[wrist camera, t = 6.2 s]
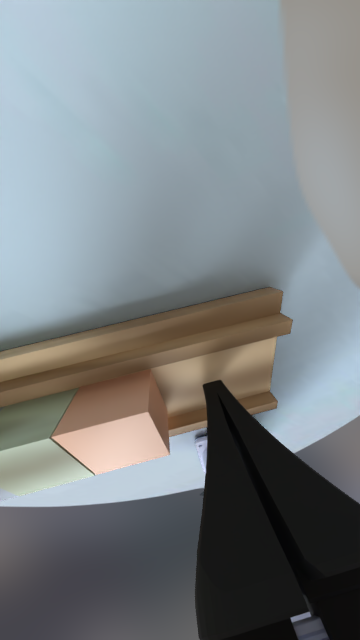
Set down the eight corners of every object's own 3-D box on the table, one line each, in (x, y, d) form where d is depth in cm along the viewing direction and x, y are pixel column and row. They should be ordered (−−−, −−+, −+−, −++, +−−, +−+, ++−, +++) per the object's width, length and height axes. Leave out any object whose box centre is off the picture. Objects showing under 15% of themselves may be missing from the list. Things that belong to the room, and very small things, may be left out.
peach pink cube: (167, 410, 12) (169, 454, 10) (109, 425, 12) (96, 474, 10) (150, 369, 10) (147, 411, 7) (80, 386, 10) (51, 437, 7)
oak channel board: (259, 396, 15) (292, 443, 12) (14, 461, 15) (-36, 534, 11) (269, 286, 10) (337, 309, 6) (-123, 381, 9) (-319, 472, 5)
